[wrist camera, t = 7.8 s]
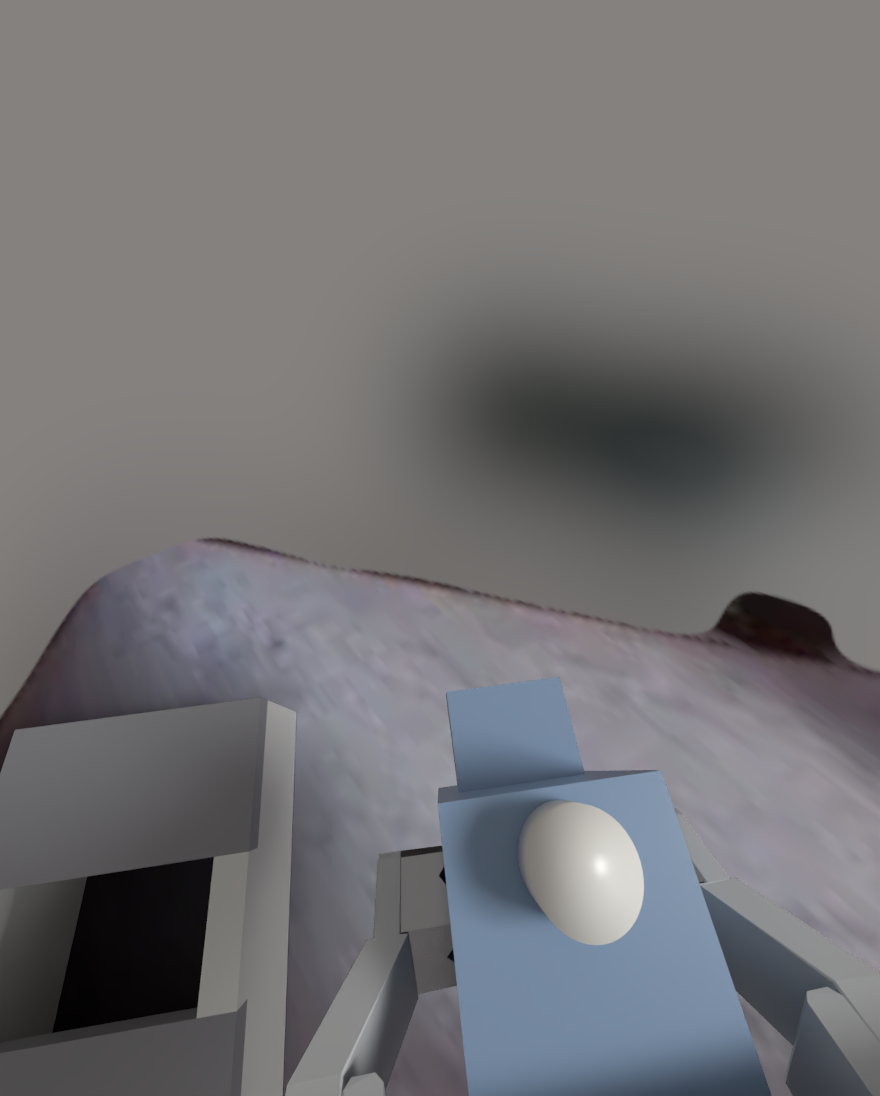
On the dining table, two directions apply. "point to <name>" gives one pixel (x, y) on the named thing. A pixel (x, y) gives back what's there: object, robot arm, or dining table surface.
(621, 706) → the dining table surface
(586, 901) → the block
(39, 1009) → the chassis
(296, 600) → the dining table surface
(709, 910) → the robot arm
